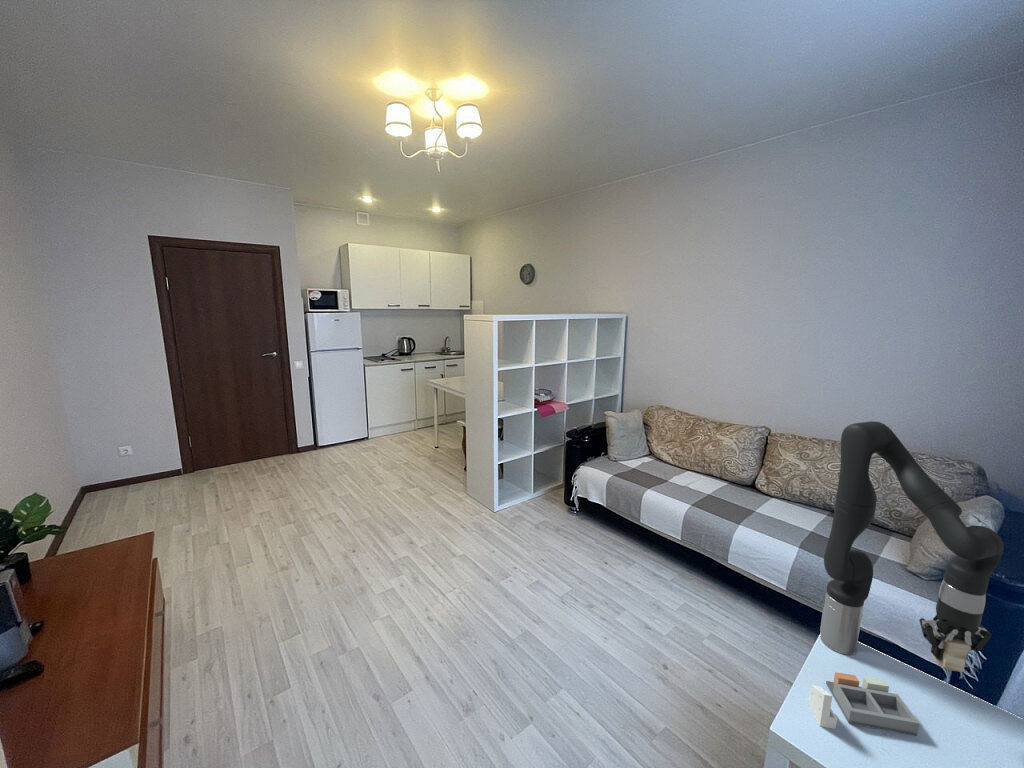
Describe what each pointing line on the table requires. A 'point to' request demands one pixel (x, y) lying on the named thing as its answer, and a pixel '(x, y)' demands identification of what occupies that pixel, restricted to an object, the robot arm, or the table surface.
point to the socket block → (872, 704)
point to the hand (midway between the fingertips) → (947, 658)
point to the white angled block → (822, 707)
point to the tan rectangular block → (954, 655)
